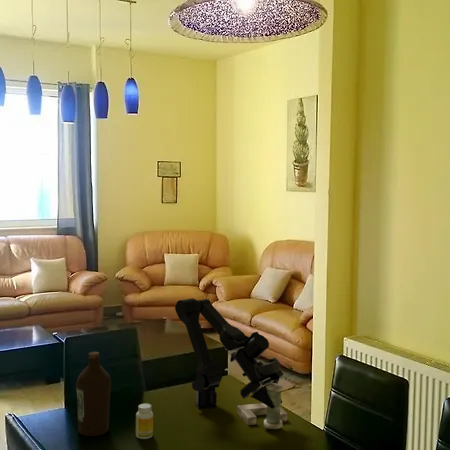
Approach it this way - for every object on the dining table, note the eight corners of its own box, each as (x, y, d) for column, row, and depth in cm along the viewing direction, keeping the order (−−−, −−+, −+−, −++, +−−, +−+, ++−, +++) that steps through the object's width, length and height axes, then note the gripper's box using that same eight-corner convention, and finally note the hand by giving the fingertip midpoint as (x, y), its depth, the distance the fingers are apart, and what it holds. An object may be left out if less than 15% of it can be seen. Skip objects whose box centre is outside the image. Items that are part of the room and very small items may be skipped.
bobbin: (267, 429, 189) (268, 389, 188) (261, 422, 195) (262, 383, 194) (285, 428, 191) (286, 388, 190) (278, 420, 197) (279, 382, 196)
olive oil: (106, 421, 196) (107, 347, 195) (113, 434, 187) (114, 356, 185) (73, 426, 192) (74, 349, 190) (79, 439, 183) (79, 359, 181)
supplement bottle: (132, 435, 187) (132, 405, 186) (147, 430, 190) (147, 401, 189) (141, 441, 182) (141, 410, 182) (156, 436, 186) (156, 406, 185)
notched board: (247, 425, 196) (247, 417, 196) (237, 412, 206) (237, 405, 206) (287, 421, 200) (287, 413, 200) (275, 408, 211) (275, 402, 210)
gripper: (249, 358, 186) (278, 400, 181) (279, 345, 201) (307, 384, 196) (227, 377, 191) (256, 419, 186) (258, 363, 206) (285, 402, 201)
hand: (277, 405), depth 192 cm, fingers closed on bobbin, 4 cm apart
